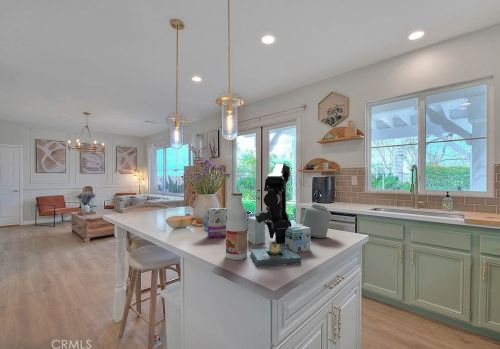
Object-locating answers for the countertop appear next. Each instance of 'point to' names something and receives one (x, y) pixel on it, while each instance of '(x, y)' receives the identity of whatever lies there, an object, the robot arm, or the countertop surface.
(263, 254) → the jig
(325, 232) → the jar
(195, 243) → the countertop surface
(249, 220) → the small box
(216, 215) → the candy bar box
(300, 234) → the light bulb box
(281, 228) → the robot arm
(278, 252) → the cylinder
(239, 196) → the fruit juice
